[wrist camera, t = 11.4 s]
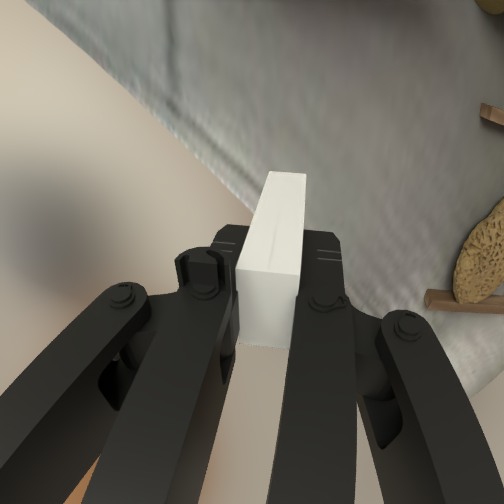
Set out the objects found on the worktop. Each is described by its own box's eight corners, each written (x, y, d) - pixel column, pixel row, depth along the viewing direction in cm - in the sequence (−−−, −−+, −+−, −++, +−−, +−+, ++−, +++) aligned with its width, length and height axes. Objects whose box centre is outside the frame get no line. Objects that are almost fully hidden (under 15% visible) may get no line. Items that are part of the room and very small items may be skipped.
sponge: (502, 174, 36) (426, 265, 43) (537, 194, 30) (453, 297, 36) (521, 221, 41) (455, 299, 48) (549, 242, 35) (478, 327, 42)
